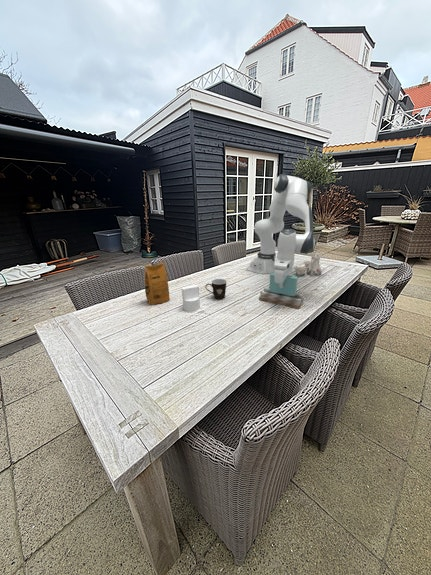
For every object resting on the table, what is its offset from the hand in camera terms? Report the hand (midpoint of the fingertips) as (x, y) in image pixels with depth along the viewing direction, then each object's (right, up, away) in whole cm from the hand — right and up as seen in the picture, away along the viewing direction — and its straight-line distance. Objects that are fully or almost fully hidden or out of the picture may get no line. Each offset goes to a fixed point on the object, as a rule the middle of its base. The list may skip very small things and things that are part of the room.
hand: (282, 286), depth 123 cm
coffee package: (-70, -9, +8) cm, 71 cm away
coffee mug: (-36, -7, +11) cm, 38 cm away
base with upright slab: (-50, -12, -1) cm, 51 cm away
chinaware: (+33, +10, +45) cm, 57 cm away
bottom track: (0, -8, +4) cm, 9 cm away
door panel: (0, -4, +2) cm, 4 cm away
